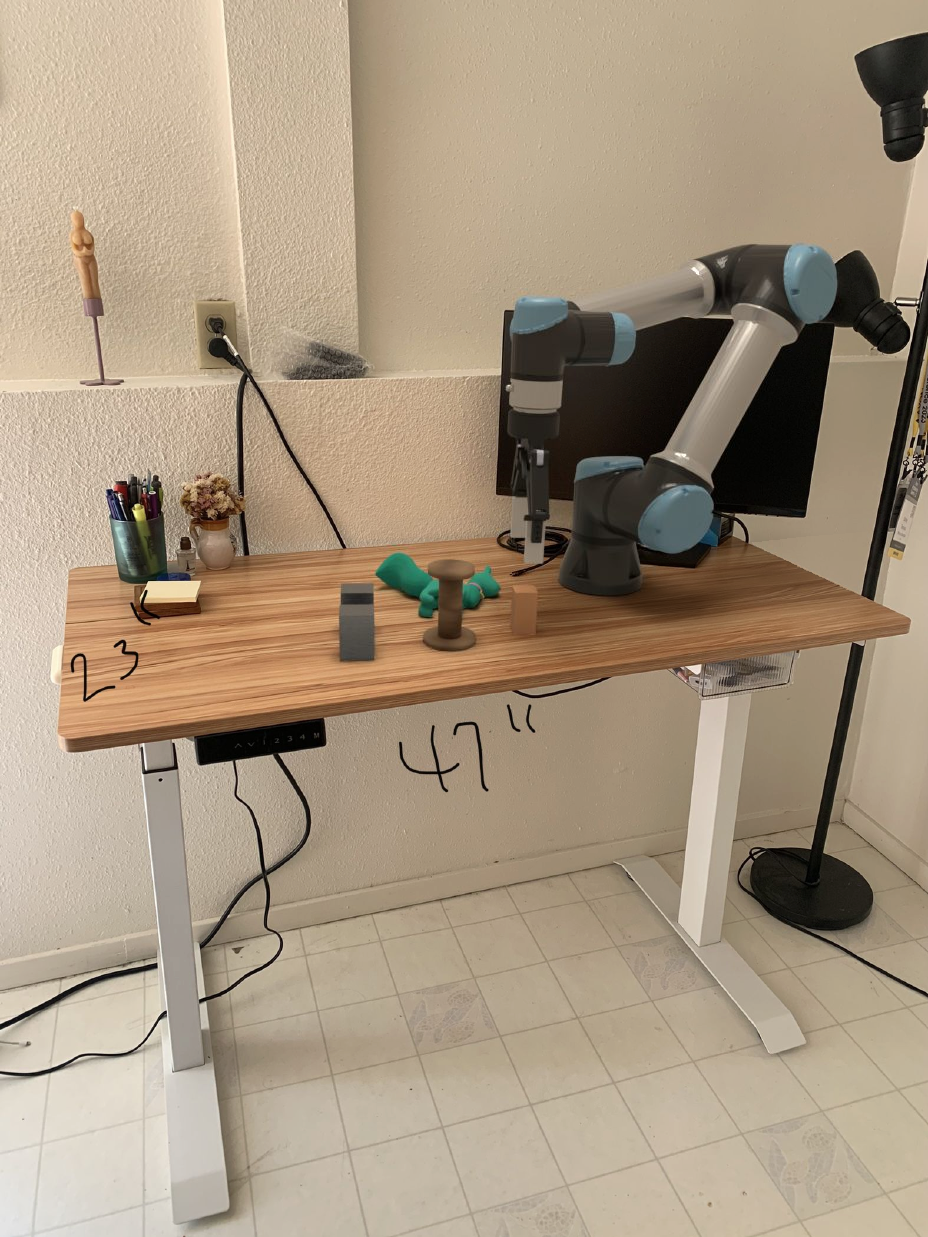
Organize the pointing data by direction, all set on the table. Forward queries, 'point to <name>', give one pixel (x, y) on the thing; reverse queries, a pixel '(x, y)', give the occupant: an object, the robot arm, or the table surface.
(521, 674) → the table surface
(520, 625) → the orange brown block
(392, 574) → the toy
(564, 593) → the table surface
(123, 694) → the table surface
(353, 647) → the metal block
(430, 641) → the bobbin
